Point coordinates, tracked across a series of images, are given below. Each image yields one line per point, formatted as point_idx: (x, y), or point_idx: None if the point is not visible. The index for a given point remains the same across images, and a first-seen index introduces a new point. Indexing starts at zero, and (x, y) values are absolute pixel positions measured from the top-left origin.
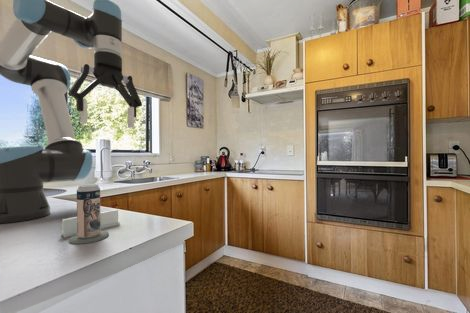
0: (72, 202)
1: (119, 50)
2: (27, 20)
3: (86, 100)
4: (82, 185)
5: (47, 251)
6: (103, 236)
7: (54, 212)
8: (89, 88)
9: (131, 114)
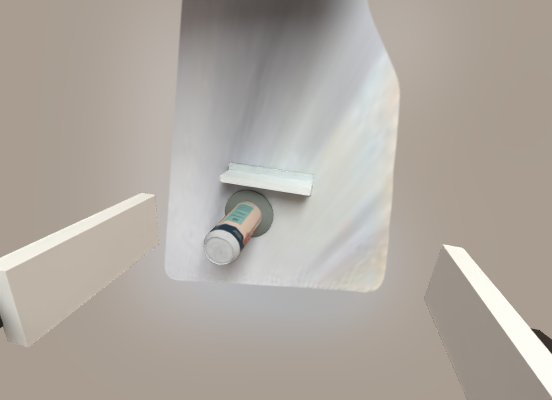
0: None
1: None
2: None
3: (35, 338)
4: (213, 237)
5: (201, 215)
6: (258, 233)
7: None
8: None
9: (463, 380)
